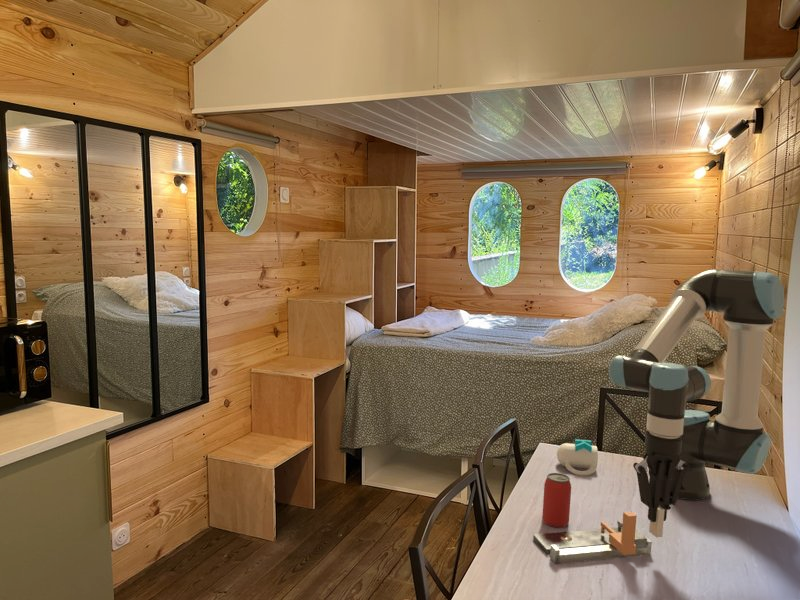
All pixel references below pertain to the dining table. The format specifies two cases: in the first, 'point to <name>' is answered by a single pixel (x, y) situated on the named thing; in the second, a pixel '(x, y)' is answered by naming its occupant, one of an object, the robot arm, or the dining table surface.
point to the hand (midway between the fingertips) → (655, 534)
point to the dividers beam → (599, 550)
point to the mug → (578, 456)
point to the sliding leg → (623, 534)
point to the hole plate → (573, 539)
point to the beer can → (556, 500)
